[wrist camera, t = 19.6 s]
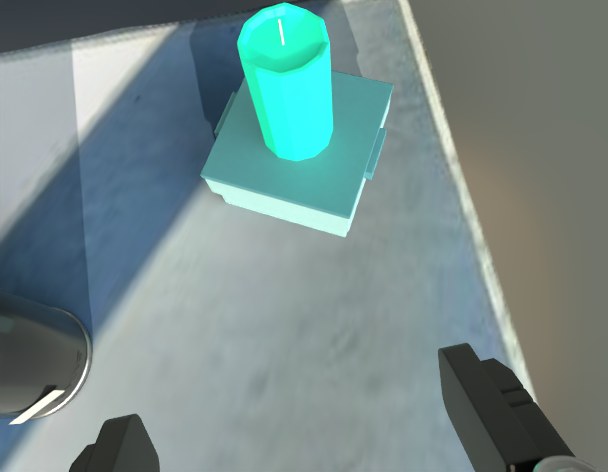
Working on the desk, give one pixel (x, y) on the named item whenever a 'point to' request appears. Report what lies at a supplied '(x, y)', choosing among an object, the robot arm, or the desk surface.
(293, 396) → the desk surface
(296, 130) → the candle
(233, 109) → the food tub
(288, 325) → the desk surface
